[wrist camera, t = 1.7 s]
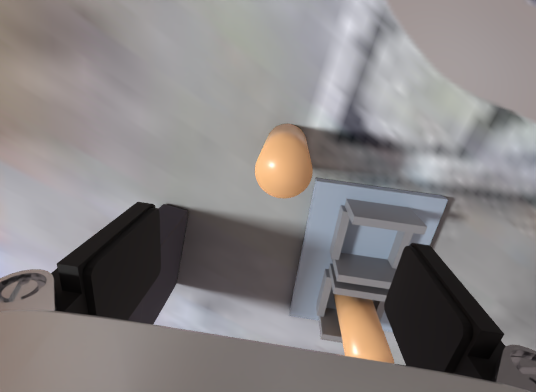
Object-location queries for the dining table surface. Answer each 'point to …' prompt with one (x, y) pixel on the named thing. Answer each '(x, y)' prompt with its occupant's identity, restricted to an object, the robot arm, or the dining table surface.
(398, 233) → the housing
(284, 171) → the tan capsule rod
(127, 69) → the dining table surface
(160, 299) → the dark grey slab
